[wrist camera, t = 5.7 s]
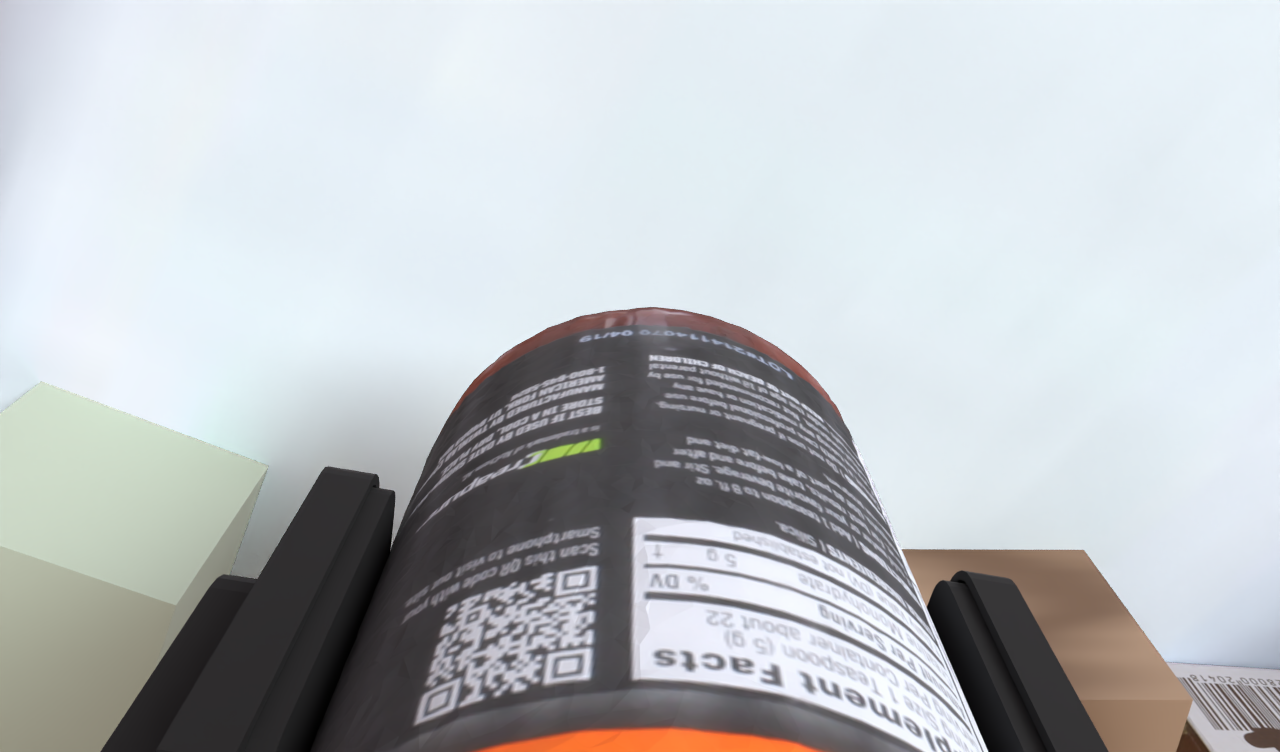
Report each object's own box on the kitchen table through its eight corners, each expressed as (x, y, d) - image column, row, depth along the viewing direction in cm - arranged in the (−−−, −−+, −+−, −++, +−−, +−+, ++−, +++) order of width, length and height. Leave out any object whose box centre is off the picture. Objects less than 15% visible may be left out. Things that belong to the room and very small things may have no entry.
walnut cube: (1082, 547, 23) (1193, 700, 19) (1043, 708, 25) (1133, 880, 21) (872, 547, 23) (933, 699, 19) (851, 708, 25) (900, 881, 21)
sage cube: (269, 464, 22) (175, 605, 17) (211, 625, 24) (114, 790, 19) (43, 379, 21) (-119, 506, 16) (2, 554, 23) (-154, 710, 18)
